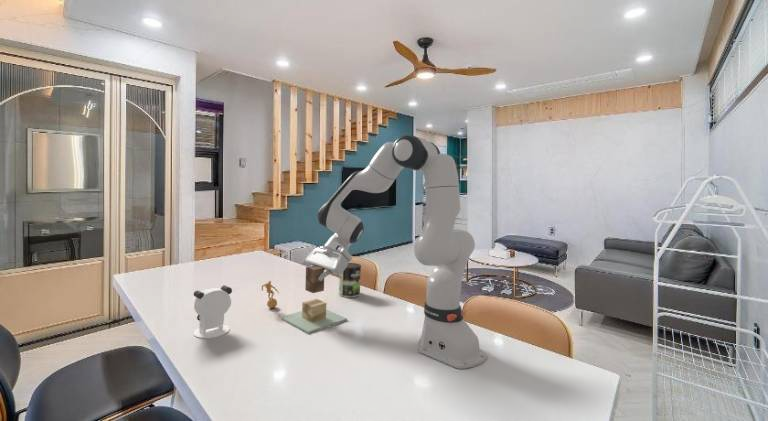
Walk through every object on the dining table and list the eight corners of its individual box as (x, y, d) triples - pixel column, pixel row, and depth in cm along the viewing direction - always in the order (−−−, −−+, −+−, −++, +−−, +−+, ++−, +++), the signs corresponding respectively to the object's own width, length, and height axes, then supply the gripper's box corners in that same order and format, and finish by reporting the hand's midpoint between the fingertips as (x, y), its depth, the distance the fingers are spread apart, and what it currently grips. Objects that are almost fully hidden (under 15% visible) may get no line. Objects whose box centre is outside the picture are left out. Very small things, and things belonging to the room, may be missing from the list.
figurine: (283, 307, 147) (283, 279, 146) (274, 312, 142) (274, 283, 141) (266, 304, 150) (267, 277, 149) (257, 309, 144) (257, 280, 143)
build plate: (347, 320, 136) (347, 318, 136) (308, 333, 123) (308, 331, 123) (319, 308, 149) (319, 306, 148) (280, 319, 135) (280, 316, 135)
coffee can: (364, 294, 170) (365, 265, 169) (349, 299, 161) (350, 269, 160) (348, 289, 176) (349, 261, 175) (334, 294, 168) (334, 265, 166)
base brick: (326, 318, 136) (326, 302, 136) (312, 322, 131) (312, 306, 131) (316, 313, 140) (316, 298, 140) (302, 317, 136) (302, 302, 135)
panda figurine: (222, 321, 131) (222, 282, 130) (237, 330, 124) (237, 288, 123) (187, 331, 122) (187, 289, 120) (202, 341, 114) (202, 296, 113)
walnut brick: (323, 290, 135) (324, 267, 134) (313, 293, 132) (313, 269, 131) (316, 287, 139) (316, 265, 138) (305, 290, 135) (305, 267, 134)
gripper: (314, 241, 146) (293, 267, 139) (347, 249, 132) (325, 279, 126) (322, 250, 149) (302, 277, 143) (355, 259, 136) (334, 289, 129)
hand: (313, 278), depth 134 cm, fingers closed on walnut brick, 5 cm apart
